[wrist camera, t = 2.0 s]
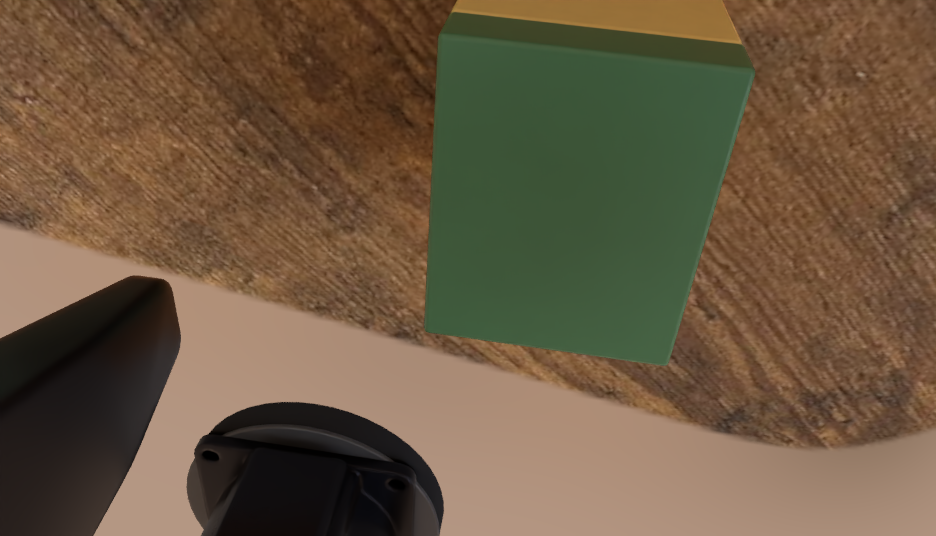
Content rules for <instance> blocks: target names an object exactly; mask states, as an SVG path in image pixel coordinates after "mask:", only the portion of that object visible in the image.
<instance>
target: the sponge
mask: <svg viewBox="0 0 936 536" xmlns="http://www.w3.org/2000/svg"><path fill="white" fill-rule="evenodd" d="M754 77H755V69H754V67H753V65H752V62H751V60H750V58H749V56H748V54H747V52H746V49H745V47H744V46H743V45H742V42H741V40H740V38H739V35H738V33H737V31H736V29H735V27H734V25H733V22H732V20H731V18H730V16H729V14H728V12H727V9H726V7H725V5H724V3H723V1H722V0H457V1H456V3H455V5H454V7H453V9H452V11H451V13H450V14H449V16H448V18H447V20H446V22H445V24H444V26H443V28H442V30H441V32H440V34H439V36H438V48H437V69H436V90H435V111H434V132H433V152H432V173H431V194H430V215H429V236H428V257H427V278H426V299H425V320H424V328H425V331H426V332H429V333H436V334H443V335H450V336H457V337H464V338H471V339H478V340H485V341H492V342H499V343H506V344H513V345H520V346H527V347H534V348H541V349H548V350H555V351H562V352H569V353H576V354H583V355H591V356H598V357H605V358H612V359H619V360H626V361H633V362H640V363H647V364H654V365H661V366H666V365H667V364H668V363H669V360H670V357H671V353H672V350H673V347H674V343H675V340H676V337H677V333H678V330H679V327H680V323H681V320H682V317H683V313H684V310H685V307H686V303H687V300H688V297H689V293H690V290H691V287H692V283H693V280H694V277H695V273H696V270H697V267H698V263H699V260H700V257H701V253H702V250H703V247H704V243H705V240H706V237H707V233H708V230H709V227H710V223H711V220H712V217H713V213H714V210H715V207H716V203H717V200H718V197H719V193H720V190H721V187H722V183H723V180H724V177H725V173H726V170H727V167H728V163H729V160H730V157H731V153H732V150H733V147H734V143H735V140H736V137H737V133H738V130H739V127H740V123H741V120H742V117H743V113H744V110H745V107H746V103H747V100H748V97H749V93H750V90H751V87H752V83H753V80H754Z"/></svg>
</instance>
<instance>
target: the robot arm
mask: <svg viewBox="0 0 936 536" xmlns="http://www.w3.org/2000/svg"><path fill="white" fill-rule="evenodd" d="M180 342H181V335H180V328H179V323H178V317H177V313H176V307H175V302H174V296H173V292H172V288H171V286H170V284H169V283H168V282H167V281H165V280H163V279H158V278H152V277H145V276H130V277H127V278H125V279H123V280H121V281H118V282H116V283H114V284H112V285H110V286H108V287H106V288H104V289H102V290H100V291H98V292H96V293H94V294H91V295H89V296H87V297H85V298H83V299H81V300H79V301H77V302H75V303H73V304H71V305H69V306H67V307H64V308H63V309H60V310H58V311H56V312H54V313H52V314H50V315H48V316H46V317H44V318H42V319H40V320H38V321H36V322H34V323H31V324H29V325H27V326H25V327H23V328H21V329H19V330H17V331H15V332H13V333H11V334H9V335H6V336H5V337H2V338H0V536H93V535H94V533H95V531H96V529H97V528H98V526H99V524H100V522H101V521H102V519H103V517H104V515H105V513H106V512H107V510H108V508H109V506H110V504H111V503H112V501H113V499H114V497H115V495H116V493H117V492H118V490H119V488H120V486H121V484H122V483H123V481H124V479H125V477H126V475H127V473H128V471H129V469H130V467H131V465H132V463H133V461H134V459H135V456H136V454H137V452H138V449H139V447H140V445H141V443H142V440H143V438H144V435H145V432H146V430H147V428H148V425H149V423H150V421H151V418H152V416H153V413H154V411H155V408H156V406H157V404H158V401H159V399H160V396H161V394H162V392H163V389H164V387H165V384H166V382H167V379H168V377H169V374H170V372H171V370H172V367H173V365H174V362H175V360H176V358H177V355H178V352H179V348H180ZM194 455H195V460H196V465H197V469H198V474H199V479H200V484H201V489H202V494H203V499H204V504H205V508H206V513H207V518H208V522H207V524H206V526H205V528H204V531H203V533H202V535H201V536H413V534H414V513H415V492H416V474H415V472H414V471H413V469H412V468H410V467H409V466H407V465H405V464H401V463H396V462H390V461H383V460H377V459H370V458H364V457H357V456H351V455H344V454H338V453H331V452H325V451H319V450H312V449H306V448H299V447H293V446H286V445H280V444H273V443H267V442H260V441H254V440H247V439H241V438H234V437H228V436H221V435H215V434H208V435H205V436H203V437H202V438H201V439H200V441H199V443H198V445H197V446H196V448H195V452H194Z"/></svg>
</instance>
